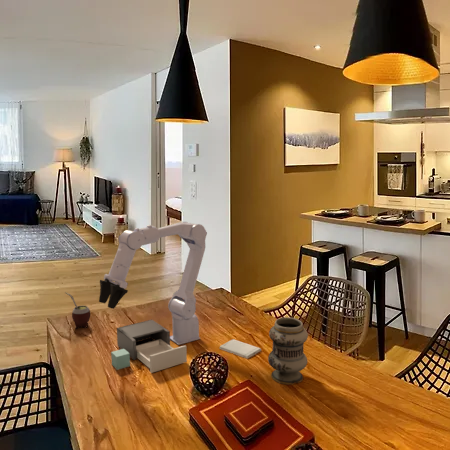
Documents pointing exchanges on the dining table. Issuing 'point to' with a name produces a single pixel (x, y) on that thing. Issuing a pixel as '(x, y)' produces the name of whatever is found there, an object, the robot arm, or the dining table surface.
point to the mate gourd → (80, 315)
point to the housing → (140, 335)
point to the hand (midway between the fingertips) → (106, 305)
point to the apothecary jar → (287, 350)
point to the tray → (160, 355)
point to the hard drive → (240, 348)
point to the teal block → (120, 359)
